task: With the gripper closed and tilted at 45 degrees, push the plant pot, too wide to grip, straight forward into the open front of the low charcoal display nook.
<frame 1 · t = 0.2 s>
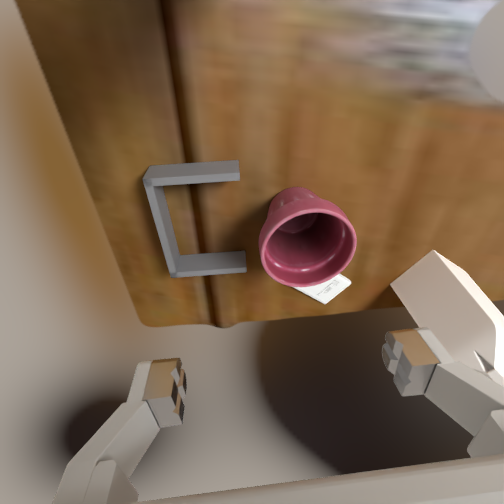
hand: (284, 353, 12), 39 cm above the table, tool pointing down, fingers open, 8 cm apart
display nook: (204, 215, 53), on the table
external hard drive: (316, 277, 65), on the table
milk: (426, 277, 66), on the table
plant pot: (293, 208, 53), on the table
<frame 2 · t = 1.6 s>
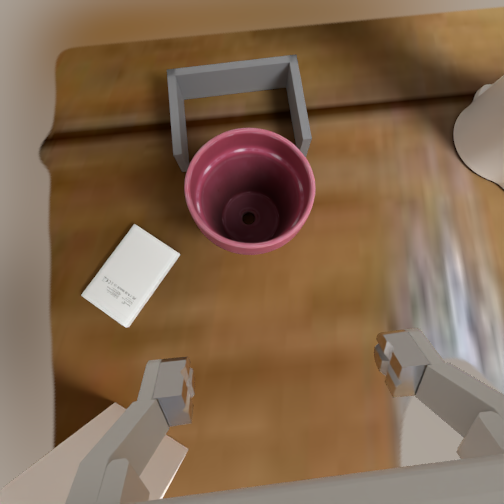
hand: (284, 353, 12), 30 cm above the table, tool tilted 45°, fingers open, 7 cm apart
display nook: (239, 125, 47), on the table
external hard drive: (134, 275, 43), on the table
milk: (126, 469, 38), on the table
plant pot: (251, 221, 44), on the table
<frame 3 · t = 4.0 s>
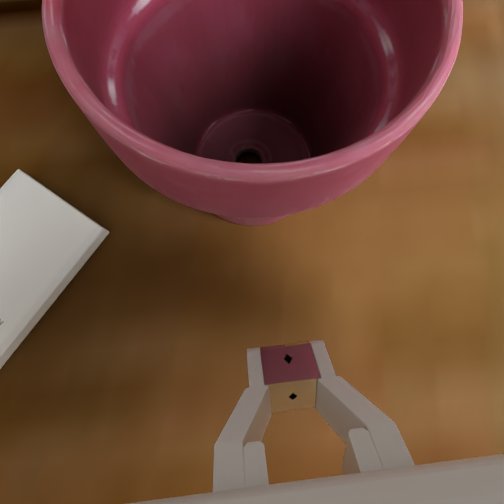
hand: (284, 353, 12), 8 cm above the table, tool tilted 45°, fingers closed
external hard drive: (16, 272, 21), on the table
plant pot: (253, 169, 22), on the table
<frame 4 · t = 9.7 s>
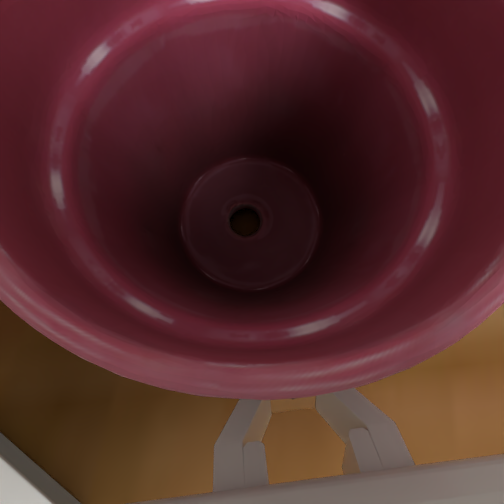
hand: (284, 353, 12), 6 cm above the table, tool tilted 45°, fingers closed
plant pot: (251, 227, 19), on the table
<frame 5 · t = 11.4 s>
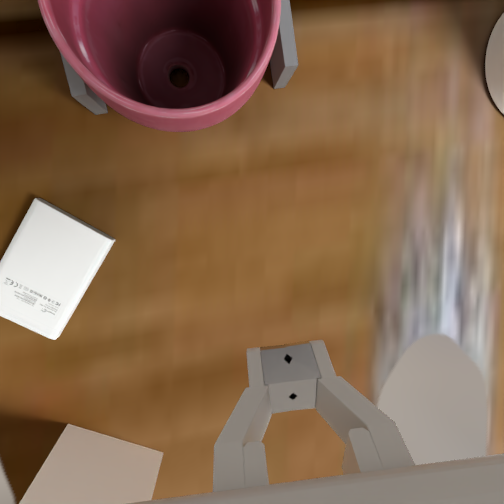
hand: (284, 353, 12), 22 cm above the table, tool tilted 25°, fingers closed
display nook: (178, 27, 29), on the table
external hard drive: (53, 268, 32), on the table
milk: (98, 479, 35), on the table
plant pot: (184, 82, 30), on the table
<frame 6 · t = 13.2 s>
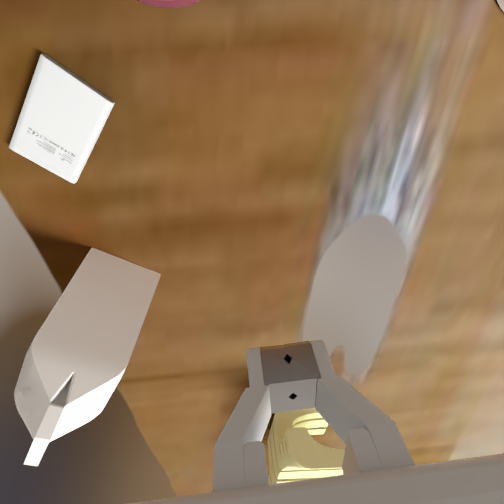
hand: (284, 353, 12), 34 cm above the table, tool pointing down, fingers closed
external hard drive: (64, 123, 38), on the table
slatted curved stool: (298, 416, 79), on the table
milk: (116, 285, 51), on the table
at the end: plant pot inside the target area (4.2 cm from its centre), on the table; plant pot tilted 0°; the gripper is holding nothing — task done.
